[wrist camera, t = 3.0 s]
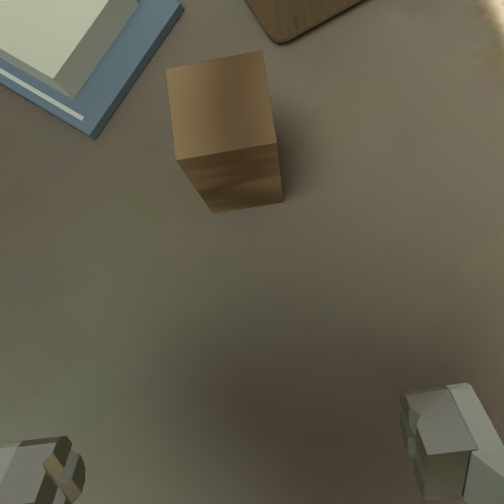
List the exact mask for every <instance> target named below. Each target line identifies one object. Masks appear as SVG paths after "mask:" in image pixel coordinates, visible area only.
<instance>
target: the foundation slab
mask: <svg viewBox="0 0 504 504" xmlns="http://www.w3.org/2000/svg"><path fill="white" fill-rule="evenodd" d="M138 6H139V4H138V2H137V0H0V58H2V59H4V60H5V61H7V62H9V63H10V64H12V65H14V66H16V67H17V68H19V69H21V70H23V71H24V72H26V73H28V74H30V75H31V76H33V77H35V78H36V79H38V80H40V81H42V82H43V83H45V84H47V85H49V86H50V87H52V88H54V89H56V90H57V91H59V92H61V93H62V94H64V95H66V96H68V97H69V98H71V99H74V97H75V96H76V94H77V93H78V92H79V90H80V89H81V87H82V86H83V84H84V83H85V82H86V80H87V79H88V77H89V76H90V74H91V73H92V72H93V70H94V69H95V67H96V66H97V64H98V63H99V62H100V60H101V59H102V57H103V56H104V54H105V53H106V52H107V50H108V49H109V47H110V46H111V44H112V43H113V42H114V40H115V39H116V37H117V36H118V34H119V33H120V32H121V30H122V29H123V27H124V26H125V24H126V23H127V22H128V20H129V19H130V17H131V16H132V14H133V13H134V12H135V10H136V9H137V7H138Z"/></svg>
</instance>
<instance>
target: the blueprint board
mask: <svg viewBox="0 0 504 504" xmlns="http://www.w3.org/2000/svg"><path fill="white" fill-rule="evenodd" d="M137 2H138V4H139V6H138V7H137V9H136V10H135V12H134V13H133V14H132V16H131V17H130V19H129V20H128V22H127V23H126V24H125V26H124V27H123V29H122V30H121V32H120V33H119V34H118V36H117V37H116V39H115V40H114V42H113V43H112V44H111V46H110V47H109V49H108V50H107V52H106V53H105V54H104V56H103V57H102V59H101V60H100V62H99V63H98V64H97V66H96V67H95V69H94V70H93V72H92V73H91V74H90V76H89V77H88V79H87V80H86V82H85V83H84V84H83V86H82V87H81V89H80V90H79V92H78V93H77V94H76V96H75V97H74V99H71V98H69V97H68V96H66V95H64V94H62V93H61V92H59V91H57V90H56V89H54V88H52V87H50V86H49V85H47V84H45V83H43V82H42V81H40V80H38V79H36V78H35V77H33V76H31V75H30V74H28V73H26V72H24V71H23V70H21V69H19V68H17V67H16V66H14V65H12V64H10V63H9V62H7V61H5V60H4V59H2V58H0V84H1V85H2V86H4V87H6V88H7V89H9V90H11V91H12V92H14V93H16V94H17V95H19V96H21V97H23V98H24V99H26V100H28V101H29V102H31V103H33V104H34V105H36V106H38V107H39V108H41V109H43V110H45V111H46V112H48V113H50V114H51V115H53V116H55V117H56V118H58V119H60V120H61V121H63V122H65V123H67V124H68V125H70V126H72V127H73V128H75V129H77V130H78V131H80V132H82V133H83V134H85V135H87V136H89V137H90V138H92V139H94V140H95V139H96V138H97V136H98V135H99V133H100V132H101V130H102V129H103V128H104V126H105V125H106V123H107V122H108V120H109V119H110V117H111V116H112V114H113V113H114V111H115V110H116V109H117V107H118V106H119V104H120V103H121V101H122V100H123V98H124V97H125V95H126V94H127V93H128V91H129V90H130V88H131V87H132V85H133V84H134V82H135V81H136V79H137V78H138V77H139V75H140V74H141V72H142V71H143V69H144V68H145V66H146V65H147V63H148V62H149V61H150V59H151V58H152V56H153V55H154V53H155V52H156V50H157V49H158V47H159V46H160V45H161V43H162V42H163V40H164V39H165V37H166V36H167V34H168V33H169V31H170V30H171V28H172V27H173V26H174V24H175V23H176V21H177V20H178V18H179V17H180V15H181V14H182V12H183V8H182V5H181V3H180V2H178V1H176V0H137Z"/></svg>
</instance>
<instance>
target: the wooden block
mask: <svg viewBox="0 0 504 504" xmlns="http://www.w3.org/2000/svg"><path fill="white" fill-rule="evenodd" d="M246 1H247V2H248V4H249V6H250V7H251V9H252V10H253V12H254V14H255V15H256V17H257V18H258V20H259V21H260V23H261V25H262V26H263V28H264V29H265V31H266V33H267V34H268V35H269V36H270V37H271V38H272V39H273V40H274V41H275V42H277V43H283V42H287V41H289V40H291V39H293V38H295V37H296V36H298V35H300V34H302V33H304V32H306V31H307V30H309V29H311V28H313V27H315V26H316V25H318V24H320V23H322V22H324V21H326V20H327V19H329V18H331V17H333V16H335V15H337V14H338V13H340V12H342V11H344V10H346V9H347V8H349V7H351V6H353V5H355V4H357V3H358V2H360V1H362V0H246Z"/></svg>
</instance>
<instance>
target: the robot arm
mask: <svg viewBox="0 0 504 504" xmlns="http://www.w3.org/2000/svg"><path fill="white" fill-rule="evenodd" d="M400 402H401V405H402V408H403V410H402V411H401V412H400V425H401V432H402V436H403V440H404V444H405V447H406V450H407V453H408V454H409V455H410V456H411V457H413V458H414V474H415V477H416V479H417V482H418V485H419V488H420V491H421V494H422V497H423V500H424V501H430V500H441V499H453V498H463V500H464V501H465V502H466V503H467V504H504V445H503V443H502V441H501V439H500V437H499V435H498V434H497V432H496V430H495V428H494V426H493V424H492V423H491V421H490V419H489V417H488V415H487V413H486V411H485V410H484V408H483V406H482V404H481V402H480V400H479V398H478V397H477V395H476V393H475V391H474V389H473V387H472V386H471V385H470V384H469V383H466V382H465V383H459V384H452V385H445V386H444V385H440V386H433V387H426V388H419V389H413V390H406V391H402V392H401V394H400ZM71 446H72V442H71V441H70V440H69V438H68V437H67V436H61V437H52V438H43V439H34V440H24V441H16V442H8V443H4V444H3V445H2V446H1V447H0V504H73V503H74V501H75V500H76V499H77V498H78V497H79V496H80V494H81V493H82V490H83V486H84V482H85V465H84V461H83V459H82V457H81V456H80V454H78V453H76V452H74V451H72V450H70V449H71Z"/></svg>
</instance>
